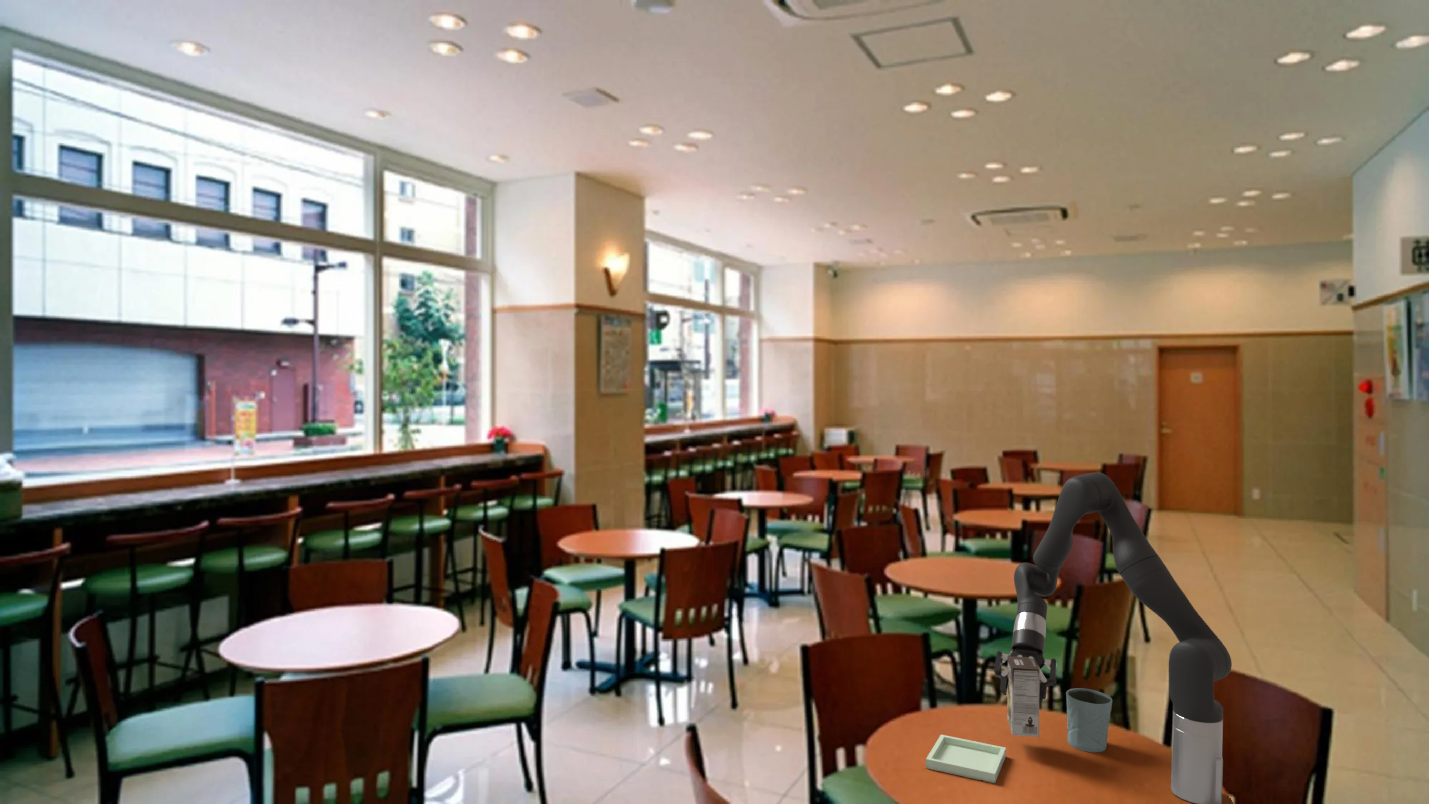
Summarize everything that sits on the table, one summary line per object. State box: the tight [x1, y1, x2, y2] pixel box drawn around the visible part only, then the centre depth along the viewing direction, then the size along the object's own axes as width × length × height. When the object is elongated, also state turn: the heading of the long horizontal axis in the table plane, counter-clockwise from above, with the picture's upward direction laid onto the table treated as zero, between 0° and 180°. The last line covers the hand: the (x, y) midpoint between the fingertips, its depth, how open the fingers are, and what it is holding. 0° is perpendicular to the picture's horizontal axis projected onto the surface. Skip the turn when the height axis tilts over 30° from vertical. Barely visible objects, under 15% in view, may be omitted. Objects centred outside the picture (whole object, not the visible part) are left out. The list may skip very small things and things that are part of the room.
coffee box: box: [1006, 656, 1040, 738], centre depth 201 cm, size 9×6×16 cm
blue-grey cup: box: [1065, 687, 1113, 753], centre depth 203 cm, size 10×10×12 cm
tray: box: [925, 734, 1007, 784], centre depth 193 cm, size 15×15×2 cm
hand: (1022, 696), depth 200 cm, fingers closed on coffee box, 7 cm apart
